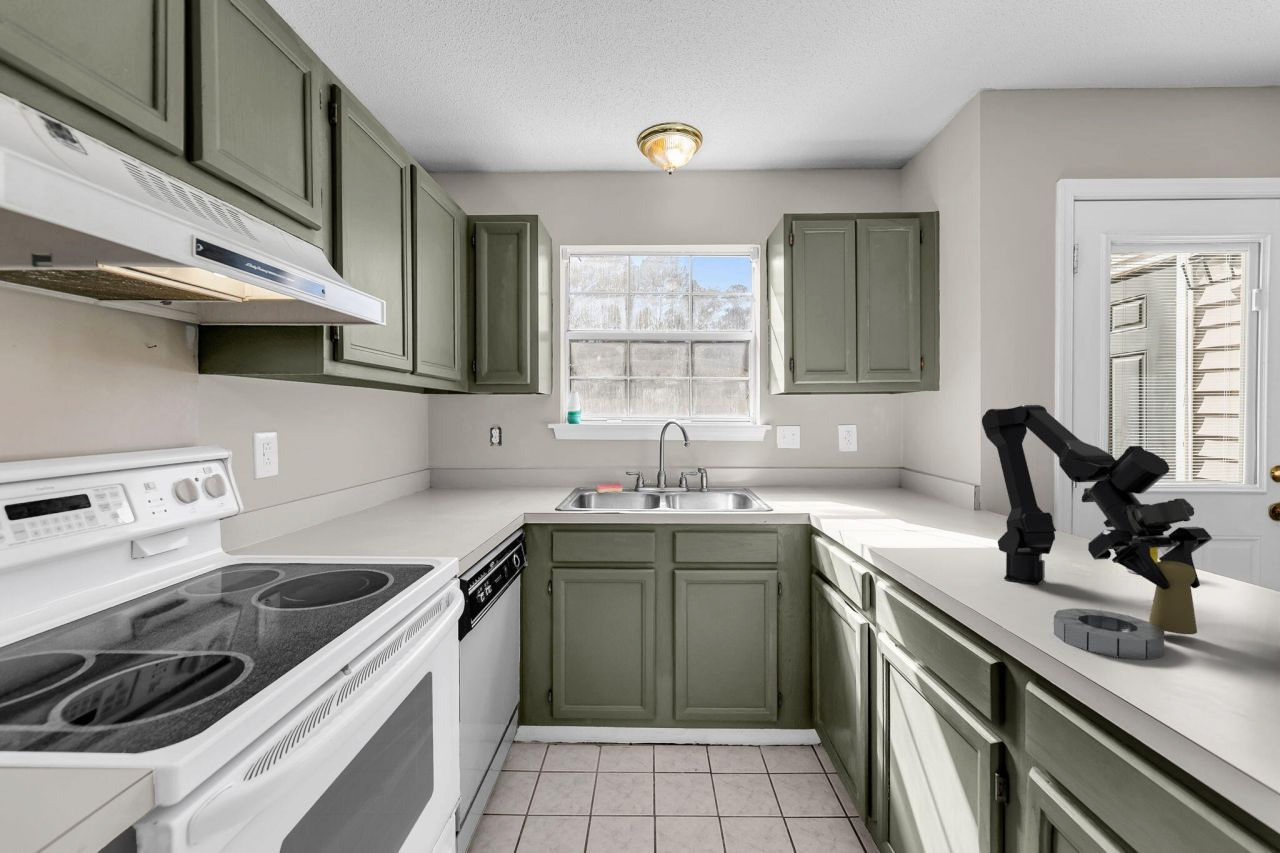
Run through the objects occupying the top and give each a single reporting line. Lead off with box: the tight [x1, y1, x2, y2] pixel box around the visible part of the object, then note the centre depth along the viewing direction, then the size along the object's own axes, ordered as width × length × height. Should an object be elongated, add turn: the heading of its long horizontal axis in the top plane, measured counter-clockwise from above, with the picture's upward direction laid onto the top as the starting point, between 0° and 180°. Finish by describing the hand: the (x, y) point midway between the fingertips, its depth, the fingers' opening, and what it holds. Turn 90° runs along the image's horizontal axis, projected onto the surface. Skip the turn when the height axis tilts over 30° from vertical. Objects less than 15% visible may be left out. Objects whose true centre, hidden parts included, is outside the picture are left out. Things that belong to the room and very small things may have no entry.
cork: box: [1148, 560, 1198, 635], centre depth 97 cm, size 6×6×11 cm
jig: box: [1053, 607, 1166, 661], centre depth 96 cm, size 14×14×3 cm
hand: (1182, 587), depth 96 cm, fingers closed on cork, 5 cm apart
